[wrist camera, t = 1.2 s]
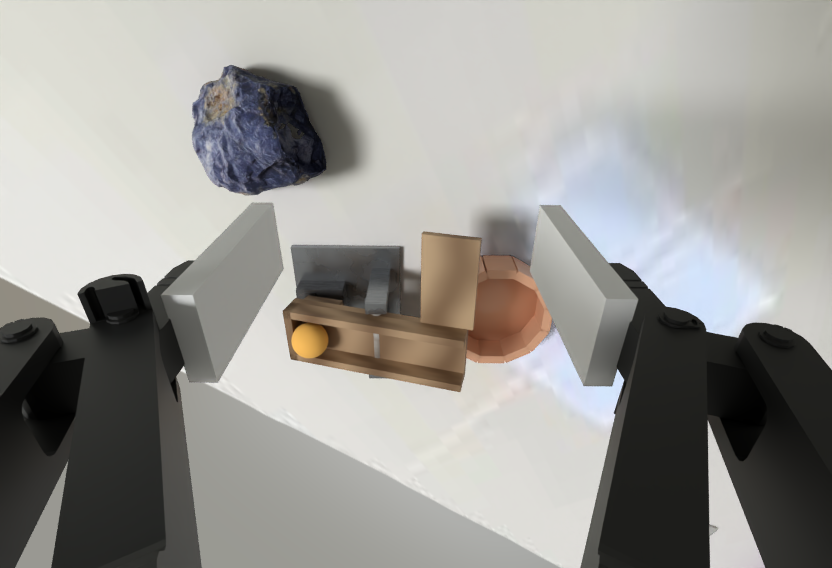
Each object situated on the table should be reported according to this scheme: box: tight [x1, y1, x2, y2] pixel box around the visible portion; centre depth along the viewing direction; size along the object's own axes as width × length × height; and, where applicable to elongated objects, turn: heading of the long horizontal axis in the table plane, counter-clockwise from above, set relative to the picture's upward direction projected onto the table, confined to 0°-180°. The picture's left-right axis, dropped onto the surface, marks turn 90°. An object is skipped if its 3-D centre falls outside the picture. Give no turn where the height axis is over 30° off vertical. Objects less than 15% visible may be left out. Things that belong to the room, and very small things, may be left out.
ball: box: [291, 322, 328, 358], centre depth 44 cm, size 4×4×4 cm
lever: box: [283, 231, 482, 392], centre depth 42 cm, size 18×15×4 cm
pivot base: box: [291, 245, 400, 378], centre depth 47 cm, size 12×14×8 cm
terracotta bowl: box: [466, 255, 552, 363], centre depth 49 cm, size 12×12×4 cm
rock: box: [192, 65, 326, 195], centre depth 38 cm, size 11×10×10 cm
